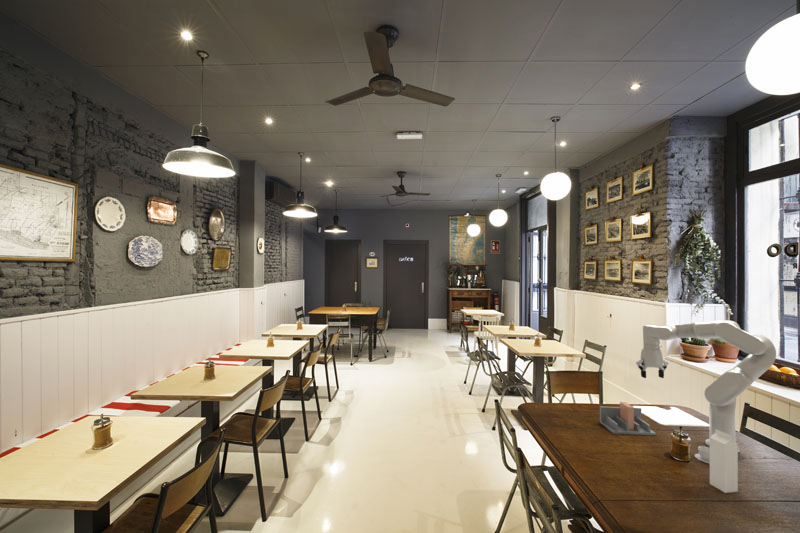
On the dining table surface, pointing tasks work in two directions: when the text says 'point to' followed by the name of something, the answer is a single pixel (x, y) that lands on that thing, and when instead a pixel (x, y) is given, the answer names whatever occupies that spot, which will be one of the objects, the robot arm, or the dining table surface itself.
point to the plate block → (627, 414)
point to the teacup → (703, 454)
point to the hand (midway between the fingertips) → (652, 377)
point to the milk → (723, 462)
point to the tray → (671, 416)
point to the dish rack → (623, 422)
